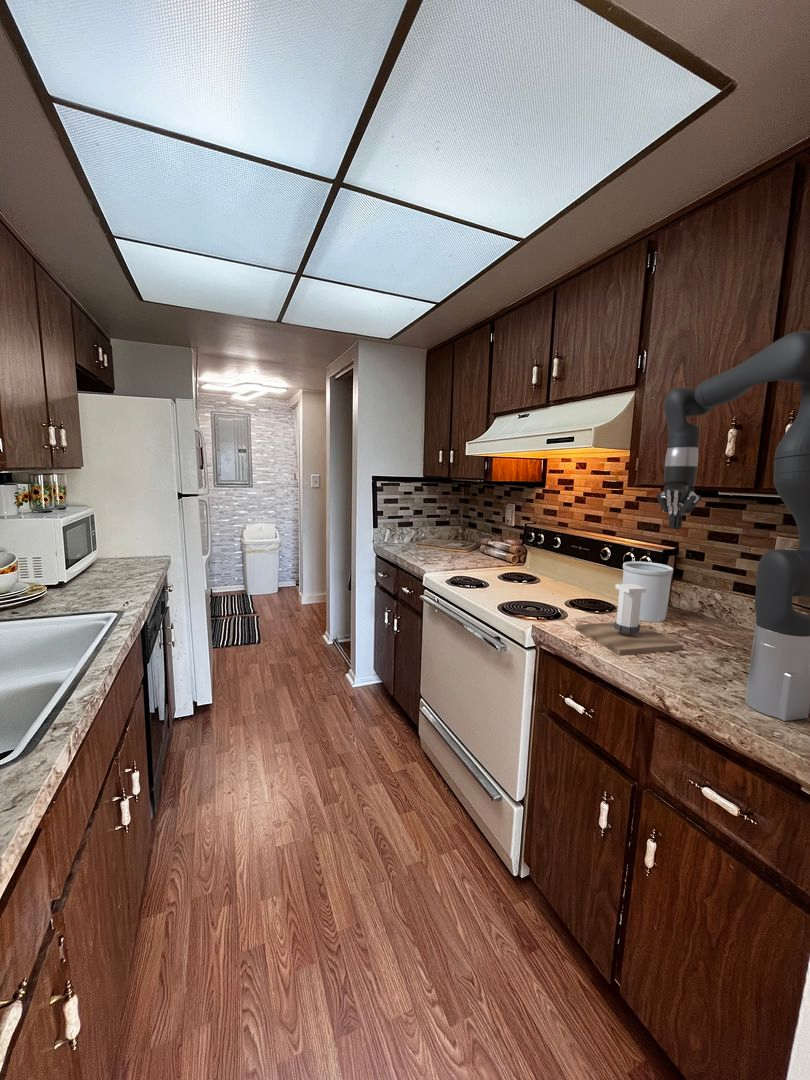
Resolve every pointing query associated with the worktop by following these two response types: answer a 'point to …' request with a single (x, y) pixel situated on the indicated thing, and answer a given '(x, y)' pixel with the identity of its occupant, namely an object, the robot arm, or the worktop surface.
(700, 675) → the worktop surface
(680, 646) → the pipe stand
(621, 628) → the o ring
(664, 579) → the utensil holder
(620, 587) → the sleeve
